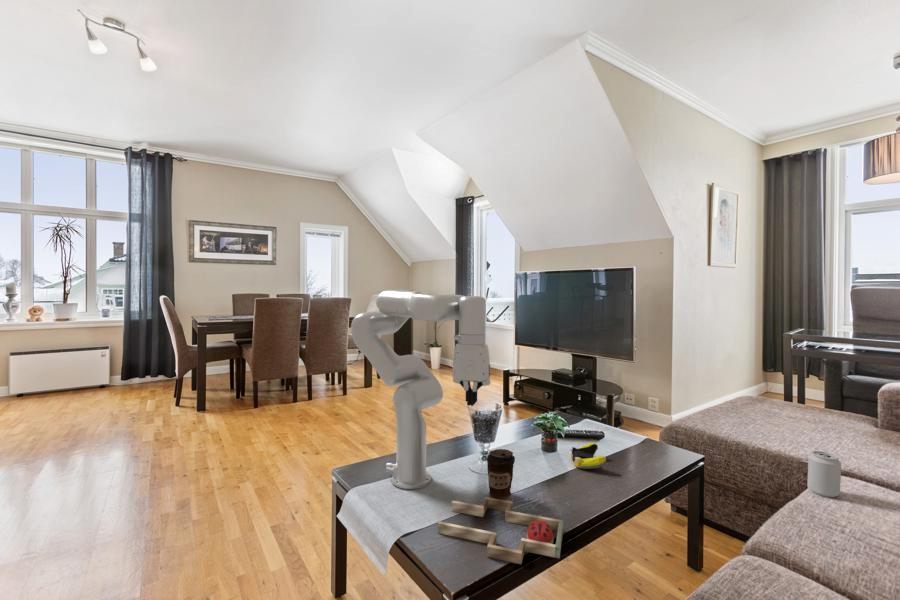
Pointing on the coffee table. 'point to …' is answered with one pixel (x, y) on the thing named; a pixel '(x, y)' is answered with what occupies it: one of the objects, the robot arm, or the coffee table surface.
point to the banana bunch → (587, 457)
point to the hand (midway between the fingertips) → (471, 404)
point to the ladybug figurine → (540, 532)
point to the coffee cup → (500, 473)
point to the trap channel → (491, 537)
